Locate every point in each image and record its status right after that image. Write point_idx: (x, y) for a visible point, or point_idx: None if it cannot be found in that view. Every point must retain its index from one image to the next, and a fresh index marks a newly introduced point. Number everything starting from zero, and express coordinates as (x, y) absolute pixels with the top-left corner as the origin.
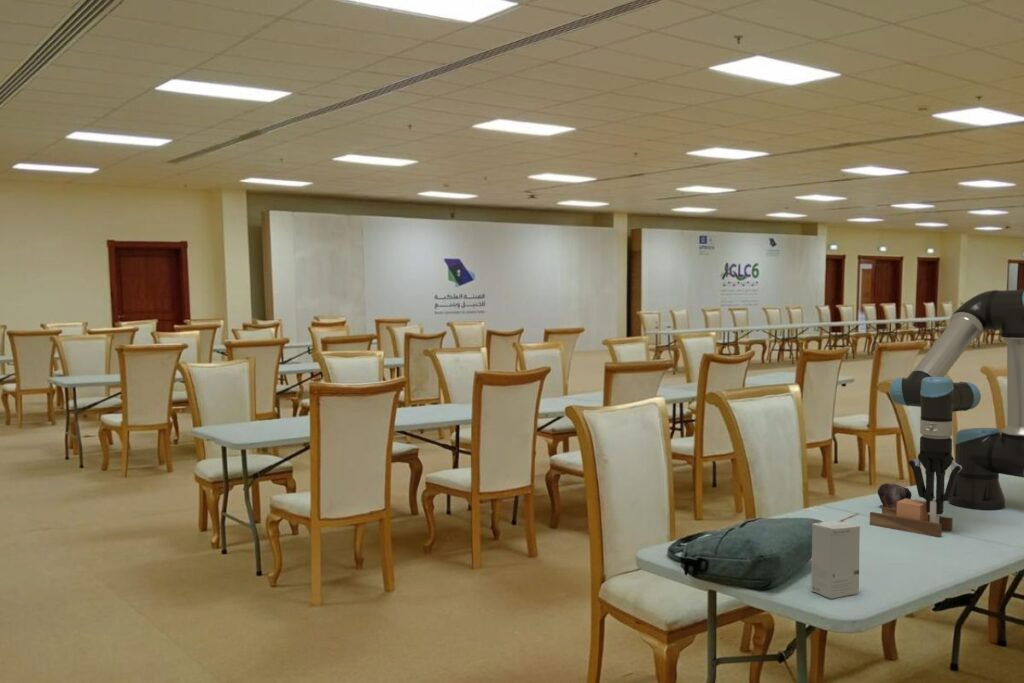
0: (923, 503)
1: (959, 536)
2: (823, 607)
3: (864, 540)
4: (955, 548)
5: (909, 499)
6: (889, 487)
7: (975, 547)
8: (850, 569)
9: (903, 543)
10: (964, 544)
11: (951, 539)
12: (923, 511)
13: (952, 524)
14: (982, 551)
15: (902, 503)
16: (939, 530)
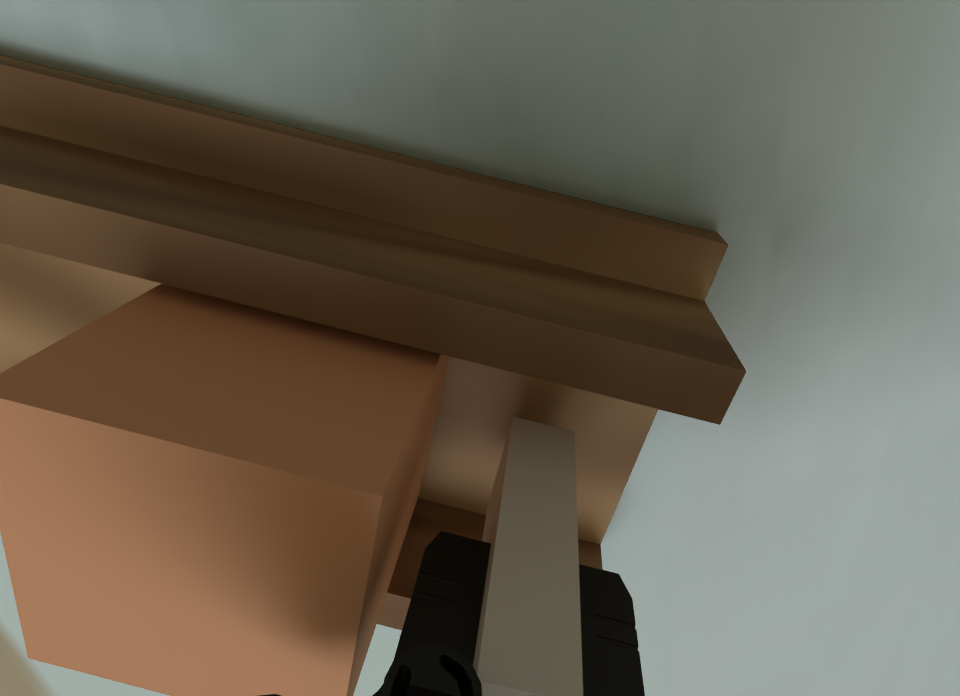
0: (339, 619)
1: (764, 296)
2: None
3: None
4: (696, 642)
5: (61, 447)
6: None
7: (853, 577)
8: None
9: (371, 646)
10: (776, 533)
11: (679, 434)
12: (384, 566)
13: (722, 339)
14: (886, 648)
15: (110, 670)
16: None
